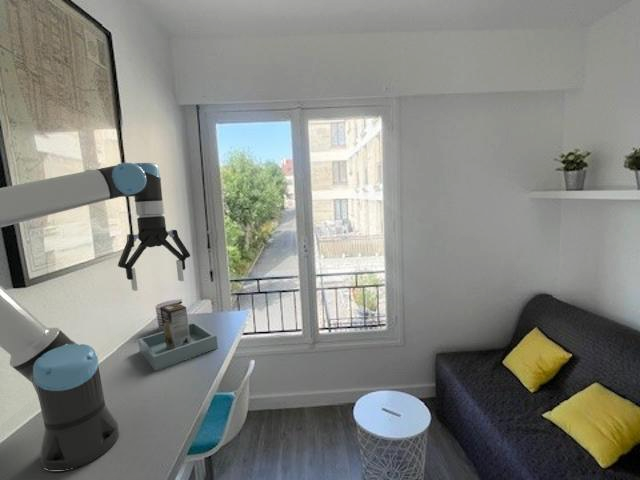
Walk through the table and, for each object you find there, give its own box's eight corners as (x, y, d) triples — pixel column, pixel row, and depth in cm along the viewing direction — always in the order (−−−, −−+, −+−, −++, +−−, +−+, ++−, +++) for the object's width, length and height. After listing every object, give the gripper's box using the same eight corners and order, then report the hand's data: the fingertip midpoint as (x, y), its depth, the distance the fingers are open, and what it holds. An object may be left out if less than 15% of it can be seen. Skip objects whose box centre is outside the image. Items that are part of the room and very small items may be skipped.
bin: (155, 371, 116) (153, 357, 115) (139, 351, 133) (137, 339, 132) (217, 348, 130) (216, 335, 129) (196, 333, 147) (194, 321, 146)
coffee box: (165, 347, 132) (159, 306, 130) (182, 341, 137) (176, 302, 134) (175, 353, 126) (168, 311, 123) (192, 347, 130) (186, 306, 128)
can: (168, 334, 148) (164, 307, 146) (153, 330, 154) (149, 304, 152) (191, 324, 157) (187, 299, 156) (175, 321, 163) (172, 297, 162)
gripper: (186, 213, 115) (193, 275, 117) (100, 219, 98) (109, 292, 100) (196, 212, 109) (203, 278, 112) (106, 219, 93) (116, 296, 95)
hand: (159, 285), depth 106 cm, fingers open, 13 cm apart
